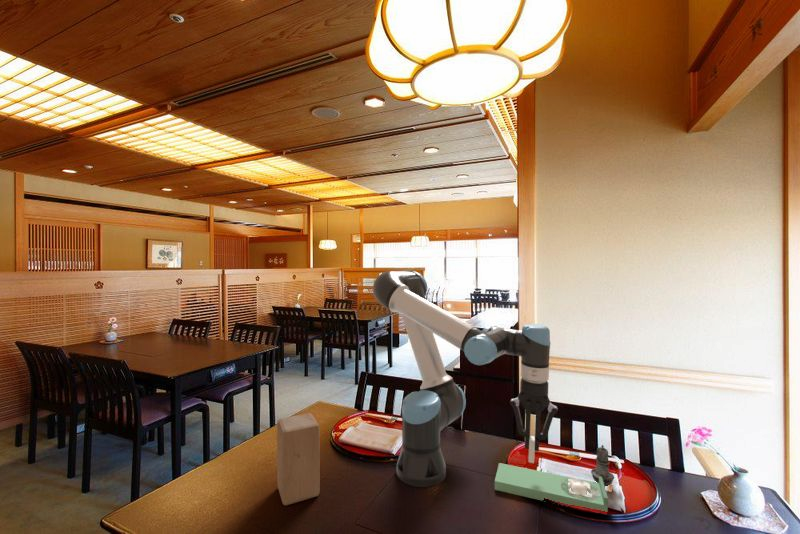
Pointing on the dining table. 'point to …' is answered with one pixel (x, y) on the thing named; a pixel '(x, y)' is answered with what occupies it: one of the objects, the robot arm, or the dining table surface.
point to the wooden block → (298, 458)
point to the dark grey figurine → (602, 467)
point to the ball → (578, 489)
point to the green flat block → (549, 487)
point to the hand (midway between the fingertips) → (531, 460)
